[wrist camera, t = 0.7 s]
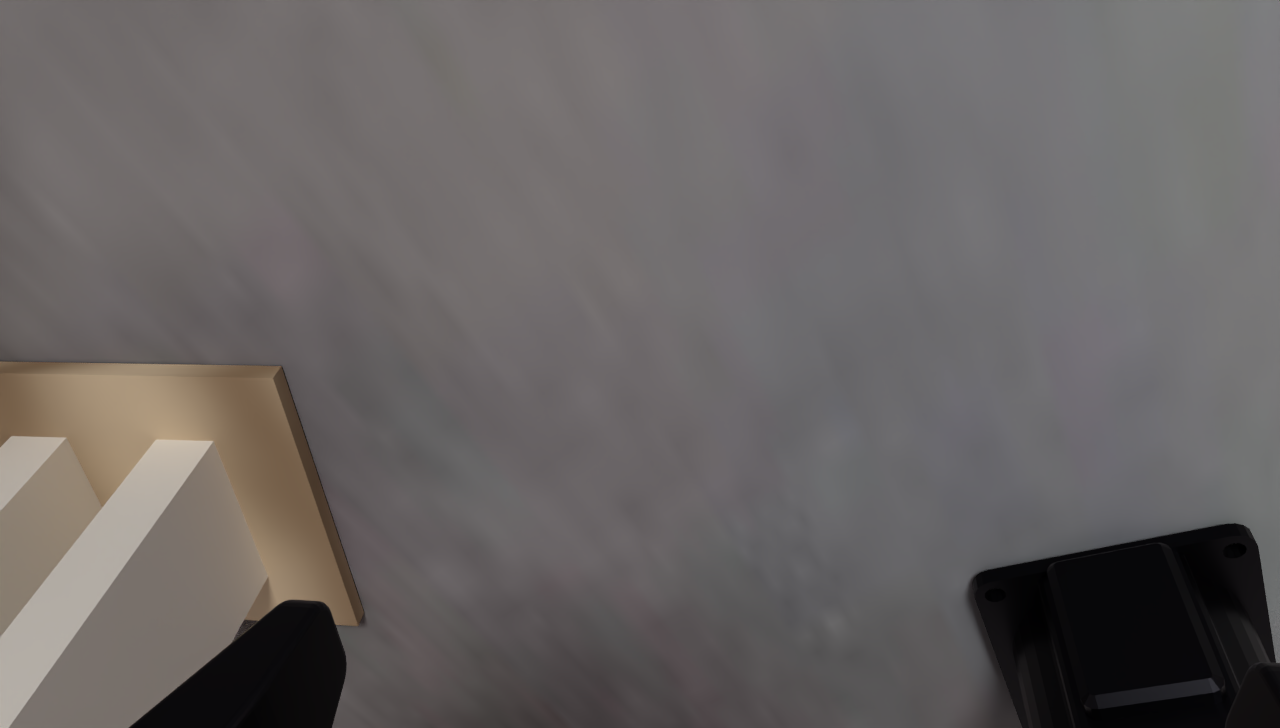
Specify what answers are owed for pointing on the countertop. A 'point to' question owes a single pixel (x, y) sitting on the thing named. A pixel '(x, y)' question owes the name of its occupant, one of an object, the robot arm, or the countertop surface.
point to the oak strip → (199, 411)
